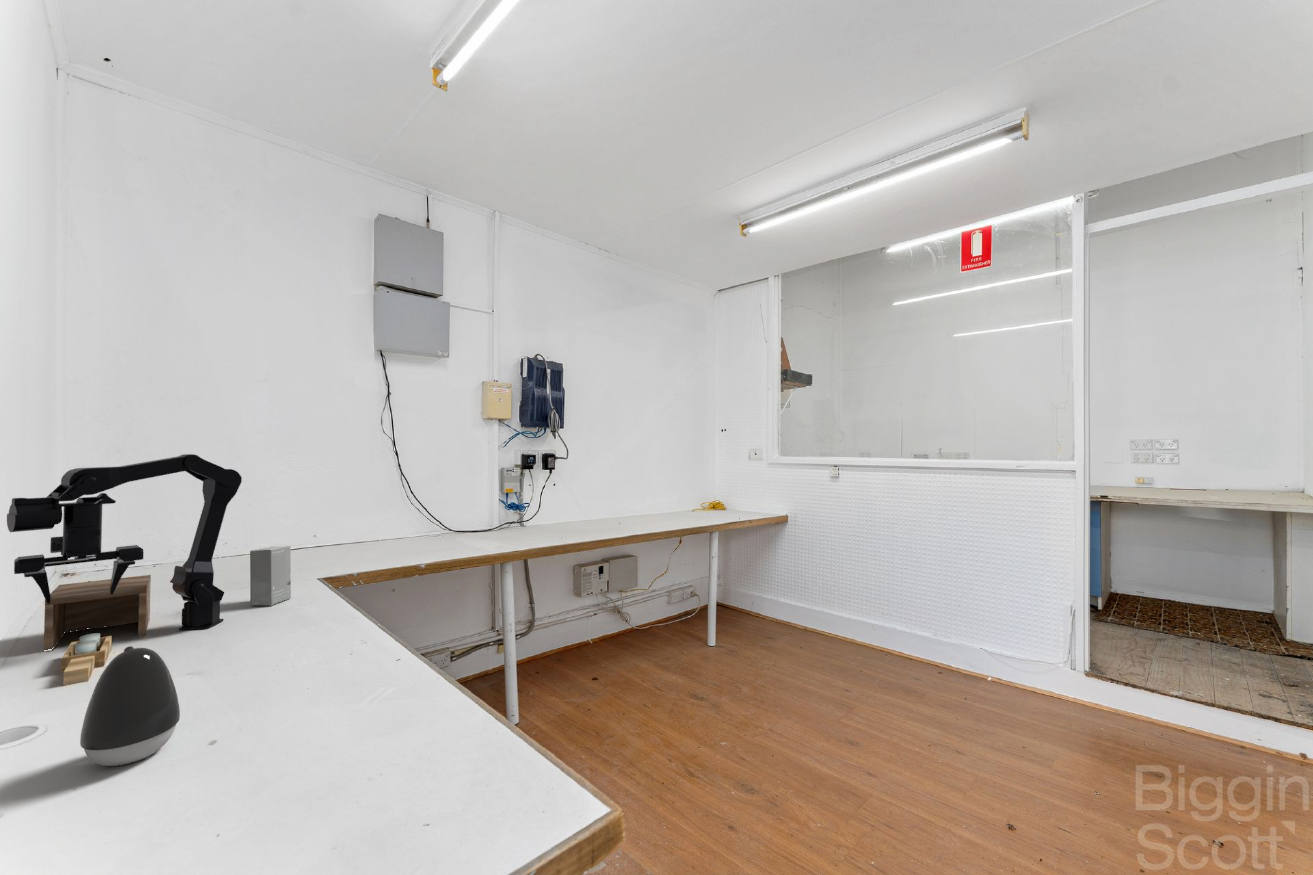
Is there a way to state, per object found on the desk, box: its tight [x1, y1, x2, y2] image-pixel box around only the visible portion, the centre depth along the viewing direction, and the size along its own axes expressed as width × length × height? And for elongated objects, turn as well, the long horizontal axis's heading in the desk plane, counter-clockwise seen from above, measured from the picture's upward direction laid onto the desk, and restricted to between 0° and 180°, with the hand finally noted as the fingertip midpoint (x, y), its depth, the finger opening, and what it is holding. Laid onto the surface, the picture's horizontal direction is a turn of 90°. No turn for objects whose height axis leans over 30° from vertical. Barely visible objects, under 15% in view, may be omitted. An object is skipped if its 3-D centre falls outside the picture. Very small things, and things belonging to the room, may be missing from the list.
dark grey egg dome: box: [79, 645, 181, 767], centre depth 77 cm, size 10×10×15 cm
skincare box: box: [249, 545, 292, 607], centre depth 154 cm, size 8×7×16 cm
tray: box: [60, 632, 113, 686], centre depth 108 cm, size 20×6×4 cm, turn 41°
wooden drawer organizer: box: [43, 574, 152, 651], centre depth 127 cm, size 16×16×12 cm
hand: (80, 598), depth 115 cm, fingers open, 9 cm apart
